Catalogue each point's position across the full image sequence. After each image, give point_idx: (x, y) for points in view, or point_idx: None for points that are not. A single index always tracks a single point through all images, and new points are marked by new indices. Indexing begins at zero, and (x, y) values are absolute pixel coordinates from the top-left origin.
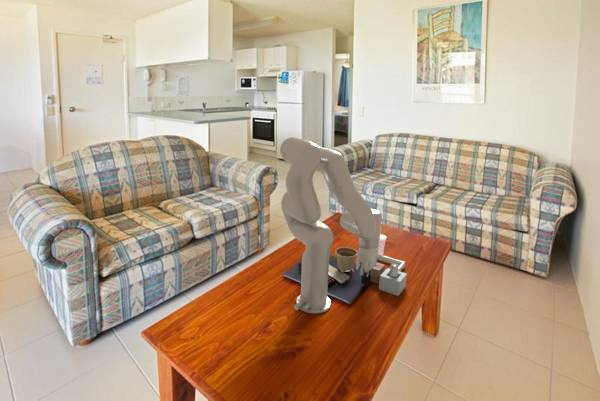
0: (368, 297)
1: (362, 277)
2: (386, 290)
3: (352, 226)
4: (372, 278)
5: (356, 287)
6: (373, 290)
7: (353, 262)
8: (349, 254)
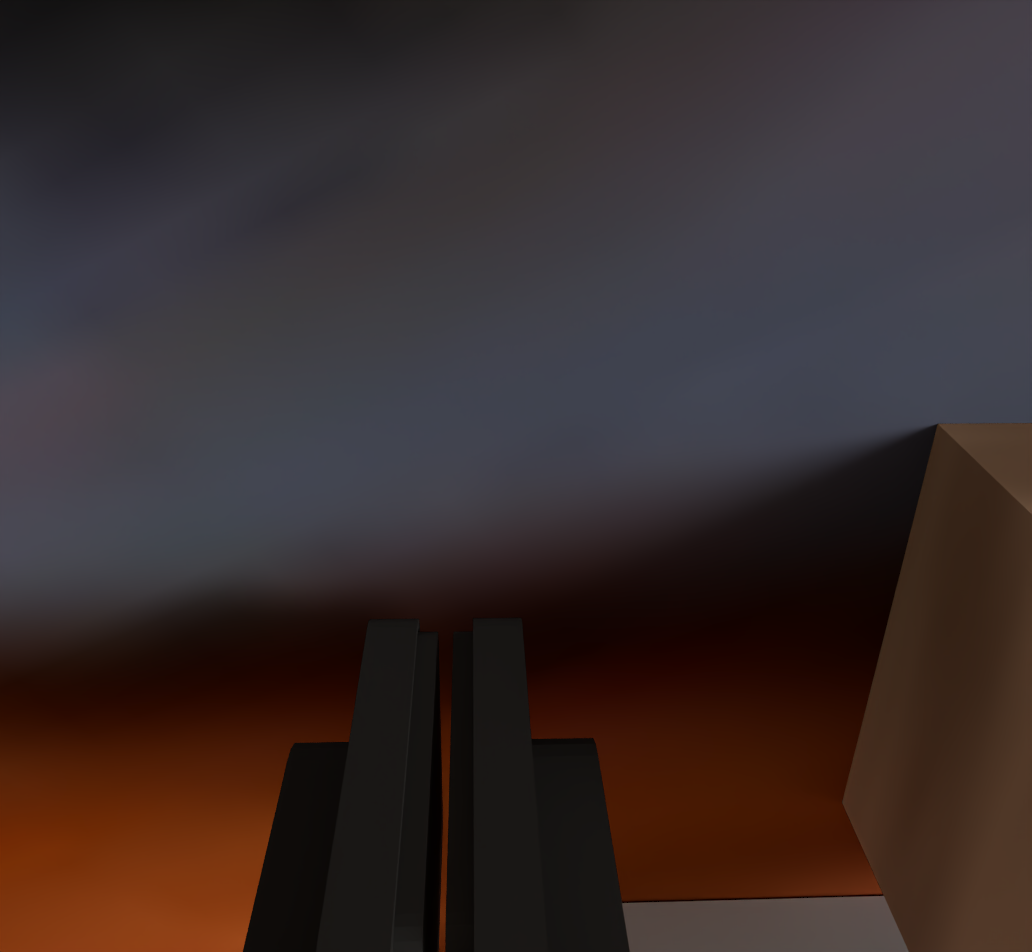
0: (20, 884)
1: (339, 857)
2: None
3: None
4: (921, 750)
5: (221, 459)
6: None
7: None
8: None
